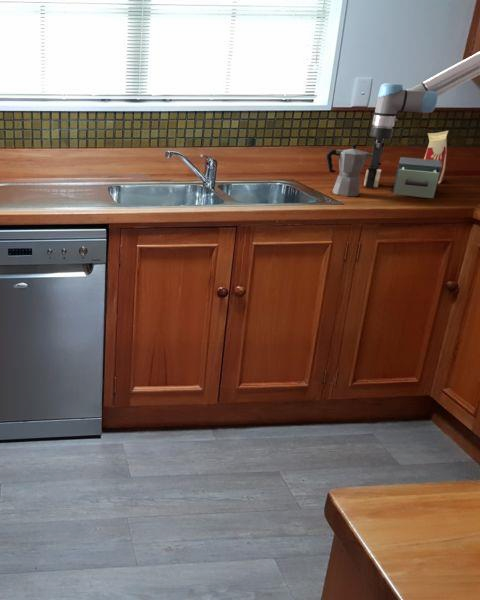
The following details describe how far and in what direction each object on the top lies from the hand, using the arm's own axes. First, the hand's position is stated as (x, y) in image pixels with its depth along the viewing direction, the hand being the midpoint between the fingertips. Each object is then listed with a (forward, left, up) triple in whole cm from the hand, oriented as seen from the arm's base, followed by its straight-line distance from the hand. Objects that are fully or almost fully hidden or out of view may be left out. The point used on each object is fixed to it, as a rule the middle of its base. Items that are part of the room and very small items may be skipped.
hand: (370, 184), depth 237 cm
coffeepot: (+8, +22, 0) cm, 23 cm away
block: (0, 0, 0) cm, 0 cm away
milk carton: (-20, -23, 0) cm, 31 cm away
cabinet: (-15, +2, 0) cm, 15 cm away
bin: (-15, +13, +1) cm, 20 cm away
